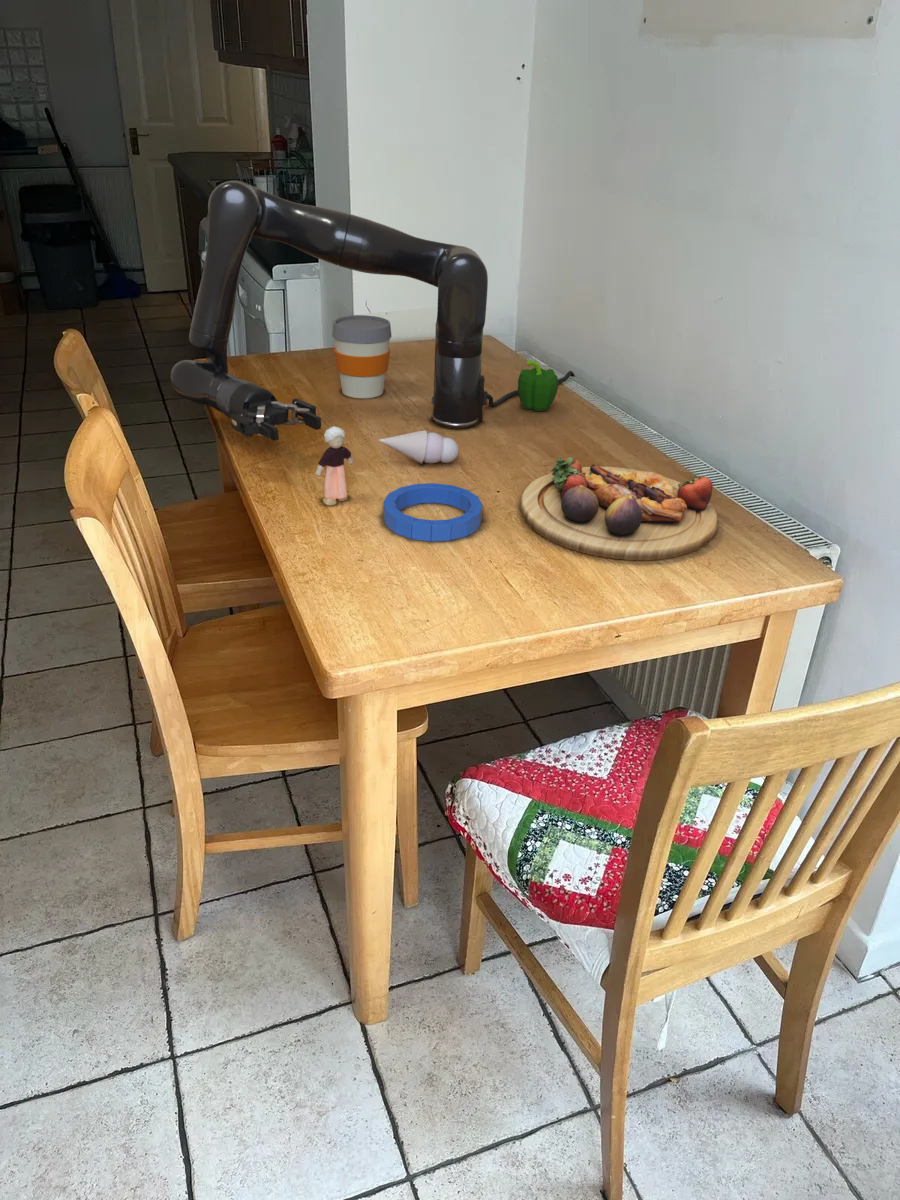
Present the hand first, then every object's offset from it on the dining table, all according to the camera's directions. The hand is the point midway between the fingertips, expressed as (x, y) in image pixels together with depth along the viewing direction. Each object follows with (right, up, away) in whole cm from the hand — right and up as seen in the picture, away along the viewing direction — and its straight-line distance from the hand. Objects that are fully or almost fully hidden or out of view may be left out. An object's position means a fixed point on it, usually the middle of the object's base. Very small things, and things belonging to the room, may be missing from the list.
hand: (298, 429), depth 153 cm
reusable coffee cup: (+6, +17, +46) cm, 50 cm away
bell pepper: (+44, +12, +41) cm, 62 cm away
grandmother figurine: (+7, -12, -1) cm, 14 cm away
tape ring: (+23, -16, -7) cm, 28 cm away
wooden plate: (+53, -15, -3) cm, 55 cm away
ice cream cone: (+20, -4, +13) cm, 24 cm away
